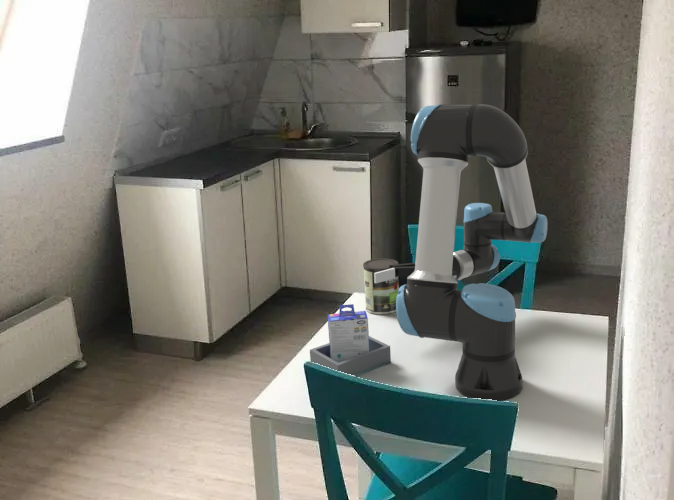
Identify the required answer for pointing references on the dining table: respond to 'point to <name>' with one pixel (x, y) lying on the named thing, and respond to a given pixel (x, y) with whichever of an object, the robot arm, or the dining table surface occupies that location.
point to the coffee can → (380, 287)
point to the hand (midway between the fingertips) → (391, 284)
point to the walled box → (354, 358)
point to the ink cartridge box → (348, 334)
